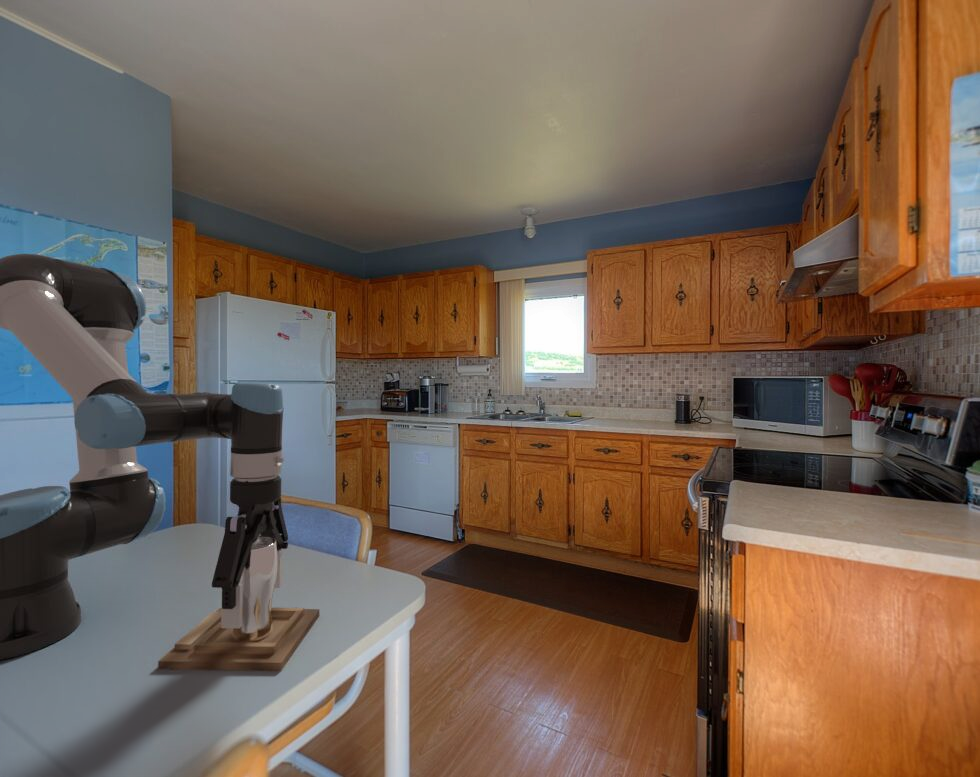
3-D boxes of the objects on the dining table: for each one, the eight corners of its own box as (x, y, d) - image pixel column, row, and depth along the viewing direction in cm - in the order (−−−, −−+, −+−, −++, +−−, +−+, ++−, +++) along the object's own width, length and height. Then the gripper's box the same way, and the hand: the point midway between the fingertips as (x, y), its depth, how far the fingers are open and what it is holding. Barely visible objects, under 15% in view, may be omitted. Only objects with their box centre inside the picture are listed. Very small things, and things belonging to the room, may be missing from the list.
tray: (158, 669, 67) (158, 653, 67) (220, 614, 83) (220, 601, 83) (281, 670, 68) (281, 654, 68) (319, 615, 84) (319, 602, 84)
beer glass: (256, 647, 71) (258, 552, 71) (218, 641, 73) (219, 547, 73) (285, 625, 78) (286, 537, 78) (249, 619, 80) (251, 533, 79)
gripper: (239, 495, 63) (236, 649, 63) (308, 463, 88) (305, 573, 88) (184, 494, 63) (181, 648, 63) (268, 463, 88) (266, 573, 88)
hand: (254, 605), depth 76 cm, fingers open, 13 cm apart
